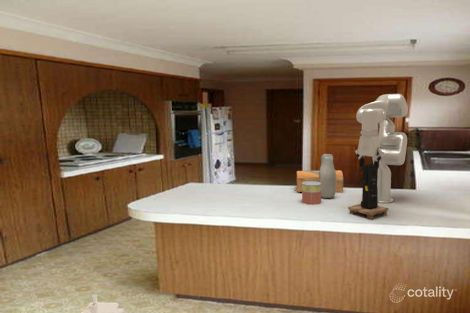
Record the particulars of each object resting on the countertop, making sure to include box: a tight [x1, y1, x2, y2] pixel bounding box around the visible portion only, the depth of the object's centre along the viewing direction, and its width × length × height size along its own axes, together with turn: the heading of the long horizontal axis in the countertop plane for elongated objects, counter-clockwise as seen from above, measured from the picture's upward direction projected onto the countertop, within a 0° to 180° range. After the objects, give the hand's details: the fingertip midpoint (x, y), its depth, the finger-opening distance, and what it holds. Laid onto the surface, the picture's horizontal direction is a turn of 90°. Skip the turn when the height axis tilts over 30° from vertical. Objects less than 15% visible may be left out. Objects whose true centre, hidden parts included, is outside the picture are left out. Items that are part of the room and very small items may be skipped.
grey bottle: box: [318, 153, 336, 199], centre depth 207 cm, size 10×10×28 cm
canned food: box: [301, 181, 322, 206], centre depth 199 cm, size 11×11×12 cm
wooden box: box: [296, 169, 344, 194], centre depth 229 cm, size 30×16×14 cm, turn 82°
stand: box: [347, 203, 389, 221], centre depth 175 cm, size 14×14×4 cm
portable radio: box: [360, 159, 379, 209], centre depth 173 cm, size 8×6×25 cm
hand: (368, 167), depth 172 cm, fingers open, 8 cm apart
